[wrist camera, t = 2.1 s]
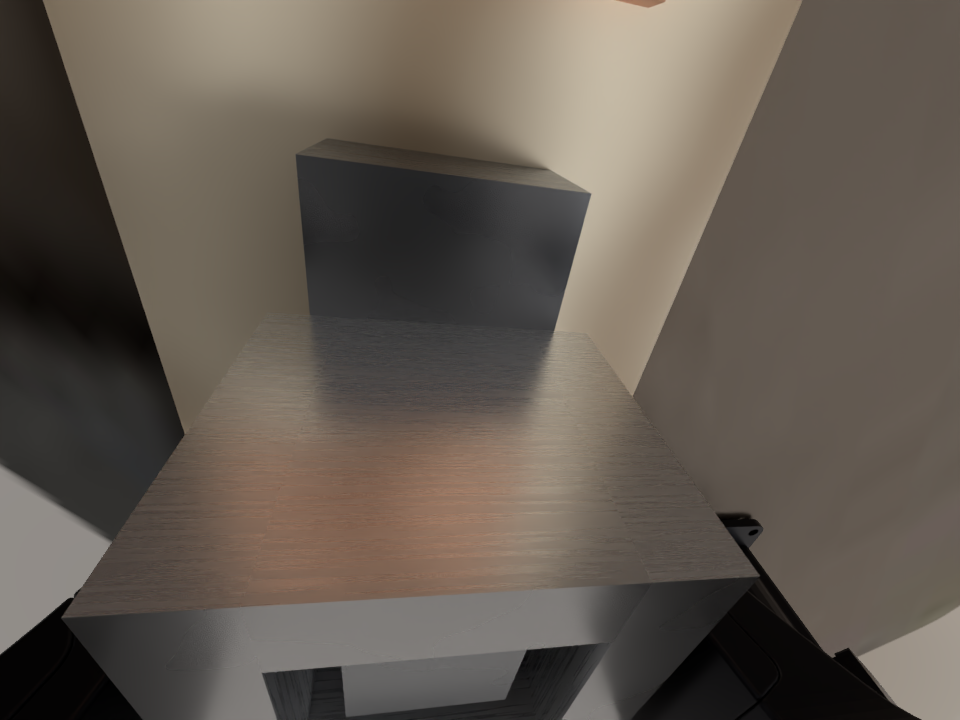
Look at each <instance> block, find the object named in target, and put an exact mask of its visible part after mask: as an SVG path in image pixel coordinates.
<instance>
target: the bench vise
mask: <svg viewBox="0 0 960 720" xmlns="http://www.w3.org/2000/svg"><path fill="white" fill-rule="evenodd" d="M295 155H296V167H297V178H298V189H299V200H300V211H301V222H302V234H303V245H304V256H305V267H306V278H307V289H308V301H309V312H310V315H315V316H330V317H346V318H361V319H377V320H392V321H408V322H423V323H438V324H454V325H469V326H485V327H500V328H516V329H531V330H547V331H554V330H555V326H556V323H557V319H558V315H559V312H560V308H561V304H562V301H563V297H564V293H565V290H566V286H567V282H568V278H569V275H570V271H571V267H572V264H573V260H574V256H575V253H576V249H577V245H578V242H579V238H580V234H581V231H582V227H583V223H584V219H585V216H586V212H587V208H588V205H589V201H590V197H591V193H590V192H588V191H586V190H584V189H583V188H581V187H579V186H577V185H576V184H574V183H572V182H571V181H569V180H567V179H565V178H564V177H562V176H560V175H558V174H557V173H555V172H553V171H551V170H548V169H541V168H534V167H527V166H520V165H513V164H506V163H499V162H491V161H484V160H477V159H470V158H463V157H456V156H449V155H442V154H435V153H428V152H421V151H414V150H407V149H400V148H393V147H386V146H379V145H372V144H365V143H358V142H351V141H344V140H337V139H330V138H326V139H324V140H322V141H320V142H318V143H316V144H314V145H312V146H310V147H308V148H306V149H304V150H303V151H301V152H299V153H297V154H295ZM526 651H527V650H518V651H507V652H495V653H484V654H473V655H461V656H450V657H438V658H427V659H416V660H404V661H393V662H382V663H370V664H359V665H348V666H341V668H342V679H343V690H344V702H345V713H346V717H351V716H361V715H370V714H379V713H388V712H397V711H406V710H415V709H424V708H433V707H442V706H451V705H460V704H469V703H478V702H487V701H496V700H505V699H506V696H507V694H508V692H509V689H510V687H511V685H512V683H513V680H514V678H515V676H516V673H517V671H518V669H519V667H520V664H521V662H522V660H523V658H524V655H525V653H526Z"/></svg>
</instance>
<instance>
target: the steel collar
mask: <svg viewBox="0 0 960 720" xmlns="http://www.w3.org/2000/svg"><path fill="white" fill-rule="evenodd" d="M759 577H760V575H759V574H758V573H757V571H756V570H755V568H754V567H753V566H752V564H751V563H750V561H749V560H748V559H747V557H746V556H745V554H744V553H743V551H742V550H741V549H740V547H739V546H738V544H737V543H736V542H735V540H734V539H733V537H732V536H731V535H730V533H729V532H728V530H727V529H726V528H725V526H724V525H723V523H722V522H721V521H720V519H719V518H718V516H717V515H716V514H715V512H714V511H713V509H712V508H711V507H710V505H709V504H708V502H707V501H706V499H705V498H704V497H703V495H702V494H701V492H700V491H699V490H698V488H697V487H696V485H695V484H694V483H693V481H692V480H691V478H690V477H689V476H688V474H687V473H686V471H685V470H684V469H683V467H682V466H681V464H680V463H679V462H678V460H677V459H676V457H675V456H674V455H673V453H672V452H671V450H670V449H669V447H668V446H667V445H666V443H665V442H664V440H663V439H662V438H661V436H660V435H659V433H658V432H657V431H656V429H655V428H654V426H653V425H652V424H651V422H650V421H649V419H648V418H647V417H646V415H645V414H644V412H643V411H642V410H641V408H640V407H639V405H638V404H637V403H636V401H635V400H634V398H633V397H632V395H631V394H630V393H629V391H628V390H627V388H626V387H625V386H624V384H623V383H622V381H621V380H620V379H619V377H618V376H617V374H616V373H615V372H614V370H613V369H612V367H611V366H610V365H609V363H608V362H607V360H606V359H605V358H604V356H603V355H602V353H601V352H600V351H599V349H598V348H597V346H596V345H595V343H594V342H593V341H592V339H591V338H590V336H589V335H588V334H587V333H578V332H563V331H547V330H531V329H516V328H500V327H485V326H469V325H454V324H438V323H423V322H408V321H392V320H377V319H361V318H346V317H330V316H315V315H299V314H284V313H267V314H266V316H265V317H264V319H263V320H262V322H261V323H260V324H259V326H258V327H257V329H256V330H255V332H254V333H253V335H252V336H251V338H250V339H249V341H248V342H247V344H246V345H245V347H244V348H243V350H242V351H241V353H240V354H239V356H238V357H237V359H236V360H235V361H234V363H233V364H232V366H231V367H230V369H229V370H228V372H227V373H226V375H225V376H224V378H223V379H222V381H221V382H220V384H219V385H218V387H217V388H216V390H215V391H214V393H213V394H212V396H211V397H210V398H209V400H208V401H207V403H206V404H205V406H204V407H203V409H202V410H201V412H200V413H199V415H198V416H197V418H196V419H195V421H194V422H193V424H192V425H191V427H190V428H189V430H188V431H187V433H186V434H185V435H184V437H183V438H182V440H181V441H180V443H179V444H178V446H177V447H176V449H175V450H174V452H173V453H172V455H171V456H170V458H169V459H168V461H167V462H166V464H165V465H164V467H163V468H162V470H161V471H160V472H159V474H158V475H157V477H156V478H155V480H154V481H153V483H152V484H151V486H150V487H149V489H148V490H147V492H146V493H145V495H144V496H143V498H142V499H141V501H140V502H139V504H138V505H137V507H136V508H135V509H134V511H133V512H132V514H131V515H130V517H129V518H128V520H127V521H126V523H125V524H124V526H123V527H122V529H121V530H120V532H119V533H118V535H117V536H116V538H115V539H114V541H113V542H112V544H111V545H110V547H109V548H108V550H107V551H106V552H105V554H104V555H103V557H102V558H101V560H100V561H99V563H98V564H97V566H96V567H95V569H94V570H93V572H92V573H91V575H90V576H89V578H88V579H87V581H86V582H85V584H84V585H83V587H82V588H81V589H80V591H79V592H78V594H77V595H76V597H75V598H74V600H73V601H72V603H71V604H70V606H69V607H68V609H67V610H66V612H65V613H64V615H63V616H62V618H61V619H62V620H63V621H64V622H65V624H66V625H67V626H68V627H69V629H70V630H71V631H72V632H73V633H74V635H75V636H76V637H77V638H78V640H79V641H80V642H81V643H82V645H83V646H84V647H85V648H86V650H87V651H88V652H89V653H90V655H91V656H92V657H93V658H94V660H95V661H96V662H97V663H98V665H99V666H100V667H101V668H102V670H103V671H104V672H105V673H106V675H107V676H108V677H109V678H110V680H111V681H112V682H113V683H114V685H115V686H116V687H117V688H118V690H119V691H120V692H121V693H122V694H123V696H124V697H125V698H126V699H127V701H128V702H129V703H130V704H131V706H132V707H133V708H134V709H135V711H136V712H137V713H138V714H139V716H140V717H141V718H142V719H143V720H630V719H631V718H632V717H633V716H634V715H635V714H636V713H637V712H638V710H639V709H640V708H641V707H642V706H643V705H644V704H645V703H646V702H647V701H648V699H649V698H650V697H651V696H652V695H653V694H654V693H655V692H656V691H657V690H658V688H659V687H660V686H661V685H662V684H663V683H664V682H665V681H666V680H667V678H668V677H669V676H670V675H671V674H672V673H673V672H674V671H675V670H676V669H677V667H678V666H679V665H680V664H681V663H682V662H683V661H684V660H685V659H686V658H687V656H688V655H689V654H690V653H691V652H692V651H693V650H694V649H695V648H696V647H697V645H698V644H699V643H700V642H701V641H702V640H703V639H704V638H705V637H706V636H707V634H708V633H709V632H710V631H711V630H712V629H713V628H714V627H715V626H716V624H717V623H718V622H719V621H720V620H721V619H722V618H723V617H724V616H725V615H726V613H727V612H728V611H729V610H730V609H731V608H732V607H733V606H734V605H735V604H736V602H737V601H738V600H739V599H740V598H741V597H742V596H743V595H744V594H745V593H746V591H747V590H748V589H749V588H750V587H751V586H752V585H753V584H754V583H755V582H756V580H757V579H758V578H759ZM518 650H527V651H526V653H525V655H524V658H523V660H522V662H521V664H520V667H519V669H518V671H517V673H516V676H515V678H514V680H513V683H512V685H511V687H510V689H509V692H508V694H507V696H506V699H505V700H496V701H487V702H478V703H469V704H460V705H451V706H442V707H433V708H424V709H415V710H406V711H397V712H388V713H379V714H370V715H361V716H351V717H346V713H345V702H344V690H343V679H342V668H341V666H348V665H359V664H370V663H382V662H393V661H404V660H416V659H427V658H438V657H450V656H461V655H473V654H484V653H495V652H507V651H518Z"/></svg>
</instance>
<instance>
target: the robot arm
mask: <svg viewBox="0 0 960 720" xmlns="http://www.w3.org/2000/svg"><path fill="white" fill-rule="evenodd" d="M720 521H721V522H722V523H723V525H724V526H725V528H726V529H727V530H728V532H729V533H730V535H731V536H732V537H733V539H734V540H735V542H736V543H737V544H738V546H739V547H740V549H741V550H742V551H743V553H744V554H745V556H746V557H747V559H748V560H749V561H750V563H751V564H752V566H753V567H754V568H755V570H756V571H757V573H758V574H759V575H760V577H759V578H758V579H757V580H756V582H755V583H754V584H753V585H752V586H751V587H750V588H749V589H748V590H747V591H746V593H745V594H744V595H743V596H742V597H741V598H740V599H739V600H738V601H737V602H736V604H735V605H734V606H733V607H732V608H731V609H730V610H729V611H728V612H727V613H726V615H725V616H724V617H723V618H722V619H721V620H720V621H719V622H718V623H717V624H716V626H715V627H714V628H713V629H712V630H711V631H710V632H709V633H708V634H707V636H706V637H705V638H704V639H703V640H702V641H701V642H700V643H699V644H698V645H697V647H696V648H695V649H694V650H693V651H692V652H691V653H690V654H689V655H688V656H687V658H686V659H685V660H684V661H683V662H682V663H681V664H680V665H679V666H678V667H677V669H676V670H675V671H674V672H673V673H672V674H671V675H670V676H669V677H668V678H667V680H666V681H665V682H664V683H663V684H662V685H661V686H660V687H659V688H658V690H657V691H656V692H655V693H654V694H653V695H652V696H651V697H650V698H649V699H648V701H647V702H646V703H645V704H644V705H643V706H642V707H641V708H640V709H639V710H638V712H637V713H636V714H635V715H634V716H633V717H632V718H631V719H630V720H921V719H919V718H917V717H915V716H913V715H911V714H910V713H908V712H906V711H904V710H903V709H901V708H899V707H898V706H897V705H896V704H895V703H894V701H893V700H892V699H891V697H890V696H889V695H888V694H887V692H886V691H885V690H884V689H883V687H882V686H881V685H880V684H879V682H878V681H877V680H876V678H875V677H874V676H873V675H872V673H871V672H870V671H869V670H868V669H867V668H866V667H865V666H864V665H863V663H862V662H861V661H860V660H859V659H858V658H857V657H856V656H855V655H854V653H853V652H852V651H851V650H850V649H849V648H847V649H844V650H842V651H840V652H837V653H835V656H836V657H834V658H832V657H830V656H829V655H828V654H826V653H825V652H824V651H823V650H822V649H821V647H820V646H819V644H818V643H817V642H816V640H815V639H814V638H813V636H812V635H811V633H810V632H809V631H808V629H807V628H806V627H805V625H804V624H803V622H802V621H801V620H800V618H799V617H798V616H797V614H796V613H795V612H794V610H793V609H792V607H791V606H790V605H789V603H788V602H787V601H786V599H785V598H784V596H783V595H782V594H781V592H780V591H779V590H778V588H777V587H776V585H775V584H774V583H773V581H772V580H771V579H770V577H769V576H768V574H767V573H766V572H765V570H764V569H763V568H762V566H761V565H760V564H759V562H758V561H757V559H756V558H755V557H754V555H753V554H752V553H751V551H750V550H749V547H750V546H751V545H752V544H753V542H754V541H755V540H756V539H757V538H758V536H759V535H760V534H761V533H762V531H763V527H762V526H761V525H760V523H759V522H758V521H757V520H755V519H740V520H720ZM80 589H81V588H80ZM80 589H79V590H78V591H77V592H76V593H75V594H74V598H75V597H76V595H77V594H78V592H79V591H80ZM74 598H69V599H67V600H66V601H65V602H63V603H62V604H61V605H60V606H59V607H57V608H56V609H55V610H54V611H53V612H52V613H51V614H49V615H48V616H47V617H46V618H44V619H43V620H42V621H41V622H40V623H39V624H37V625H36V626H35V627H34V628H33V629H31V630H30V631H29V632H27V633H26V634H25V635H24V636H22V637H21V638H20V639H19V640H18V641H16V642H15V643H14V644H13V645H11V647H9V648H8V649H7V650H5V651H4V652H3V653H2V654H0V720H143V719H142V718H141V717H140V716H139V714H138V713H137V712H136V711H135V709H134V708H133V707H132V706H131V704H130V703H129V702H128V701H127V699H126V698H125V697H124V696H123V694H122V693H121V692H120V691H119V690H118V688H117V687H116V686H115V685H114V683H113V682H112V681H111V680H110V678H109V677H108V676H107V675H106V673H105V672H104V671H103V670H102V668H101V667H100V666H99V665H98V663H97V662H96V661H95V660H94V658H93V657H92V656H91V655H90V653H89V652H88V651H87V650H86V648H85V647H84V646H83V645H82V643H81V642H80V641H79V640H78V638H77V637H76V636H75V635H74V633H73V632H72V631H71V630H70V629H69V627H68V626H67V625H66V624H65V622H64V621H63V620H62V619H61V618H62V616H63V615H64V613H65V612H66V610H67V609H68V607H69V606H70V604H71V603H72V601H73V600H74Z"/></svg>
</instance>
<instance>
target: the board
mask: <svg viewBox="0 0 960 720" xmlns="http://www.w3.org/2000/svg"><path fill="white" fill-rule="evenodd" d="M43 2H44V5H45V8H46V11H47V14H48V17H49V20H50V23H51V27H52V30H53V33H54V36H55V39H56V42H57V45H58V48H59V51H60V54H61V57H62V60H63V63H64V66H65V69H66V72H67V75H68V78H69V82H70V85H71V88H72V91H73V94H74V97H75V100H76V103H77V106H78V109H79V112H80V115H81V118H82V121H83V124H84V127H85V130H86V134H87V137H88V140H89V143H90V146H91V149H92V152H93V155H94V158H95V161H96V164H97V167H98V170H99V173H100V176H101V179H102V182H103V185H104V189H105V192H106V195H107V198H108V201H109V204H110V207H111V210H112V213H113V216H114V219H115V222H116V225H117V228H118V231H119V234H120V237H121V240H122V244H123V247H124V250H125V253H126V256H127V259H128V262H129V265H130V268H131V271H132V274H133V277H134V280H135V283H136V286H137V289H138V292H139V295H140V299H141V302H142V305H143V308H144V311H145V314H146V317H147V320H148V323H149V326H150V329H151V332H152V335H153V338H154V341H155V344H156V347H157V350H158V354H159V357H160V360H161V363H162V366H163V369H164V372H165V375H166V378H167V381H168V384H169V387H170V390H171V393H172V396H173V399H174V402H175V405H176V409H177V412H178V415H179V418H180V421H181V424H182V427H183V430H184V433H185V434H186V433H187V431H188V430H189V428H190V427H191V425H192V424H193V422H194V421H195V419H196V418H197V416H198V415H199V413H200V412H201V410H202V409H203V407H204V406H205V404H206V403H207V401H208V400H209V398H210V397H211V396H212V394H213V393H214V391H215V390H216V388H217V387H218V385H219V384H220V382H221V381H222V379H223V378H224V376H225V375H226V373H227V372H228V370H229V369H230V367H231V366H232V364H233V363H234V361H235V360H236V359H237V357H238V356H239V354H240V353H241V351H242V350H243V348H244V347H245V345H246V344H247V342H248V341H249V339H250V338H251V336H252V335H253V333H254V332H255V330H256V329H257V327H258V326H259V324H260V323H261V322H262V320H263V319H264V317H265V316H266V314H267V313H284V314H299V315H310V312H309V301H308V289H307V278H306V267H305V256H304V245H303V234H302V222H301V211H300V200H299V189H298V178H297V167H296V155H295V154H297V153H299V152H301V151H303V150H304V149H306V148H308V147H310V146H312V145H314V144H316V143H318V142H320V141H322V140H324V139H326V138H330V139H337V140H344V141H351V142H358V143H365V144H372V145H379V146H386V147H393V148H400V149H407V150H414V151H421V152H428V153H435V154H442V155H449V156H456V157H463V158H470V159H477V160H484V161H491V162H499V163H506V164H513V165H520V166H527V167H534V168H541V169H548V170H551V171H553V172H555V173H557V174H558V175H560V176H562V177H564V178H565V179H567V180H569V181H571V182H572V183H574V184H576V185H577V186H579V187H581V188H583V189H584V190H586V191H588V192H590V193H591V197H590V201H589V205H588V208H587V212H586V216H585V219H584V223H583V227H582V231H581V234H580V238H579V242H578V245H577V249H576V253H575V256H574V260H573V264H572V267H571V271H570V275H569V278H568V282H567V286H566V290H565V293H564V297H563V301H562V304H561V308H560V312H559V315H558V319H557V323H556V326H555V330H554V331H563V332H578V333H587V334H588V335H589V336H590V338H591V339H592V341H593V342H594V343H595V345H596V346H597V348H598V349H599V351H600V352H601V353H602V355H603V356H604V358H605V359H606V360H607V362H608V363H609V365H610V366H611V367H612V369H613V370H614V372H615V373H616V374H617V376H618V377H619V379H620V380H621V381H622V383H623V384H624V386H625V387H626V388H627V390H628V391H629V393H630V394H631V395H632V396H633V394H634V392H635V389H636V387H637V385H638V382H639V380H640V378H641V375H642V373H643V371H644V368H645V366H646V364H647V362H648V359H649V357H650V355H651V352H652V350H653V348H654V345H655V343H656V341H657V338H658V336H659V334H660V331H661V329H662V327H663V324H664V322H665V320H666V317H667V315H668V313H669V310H670V308H671V306H672V303H673V301H674V299H675V296H676V294H677V292H678V289H679V287H680V285H681V282H682V280H683V278H684V275H685V273H686V271H687V268H688V266H689V264H690V261H691V259H692V257H693V254H694V252H695V250H696V247H697V245H698V243H699V240H700V238H701V236H702V233H703V231H704V229H705V226H706V224H707V222H708V219H709V217H710V215H711V212H712V210H713V208H714V205H715V203H716V201H717V198H718V196H719V194H720V191H721V189H722V187H723V184H724V182H725V180H726V177H727V175H728V173H729V170H730V168H731V166H732V163H733V161H734V159H735V156H736V154H737V152H738V149H739V147H740V145H741V142H742V140H743V138H744V135H745V133H746V131H747V128H748V126H749V124H750V121H751V119H752V117H753V114H754V112H755V110H756V107H757V105H758V103H759V101H760V98H761V96H762V94H763V91H764V89H765V87H766V84H767V82H768V80H769V77H770V75H771V73H772V70H773V68H774V66H775V63H776V61H777V59H778V56H779V54H780V52H781V49H782V47H783V45H784V42H785V40H786V38H787V35H788V33H789V31H790V28H791V26H792V24H793V21H794V19H795V17H796V14H797V12H798V10H799V7H800V5H801V3H802V0H43Z"/></svg>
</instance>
